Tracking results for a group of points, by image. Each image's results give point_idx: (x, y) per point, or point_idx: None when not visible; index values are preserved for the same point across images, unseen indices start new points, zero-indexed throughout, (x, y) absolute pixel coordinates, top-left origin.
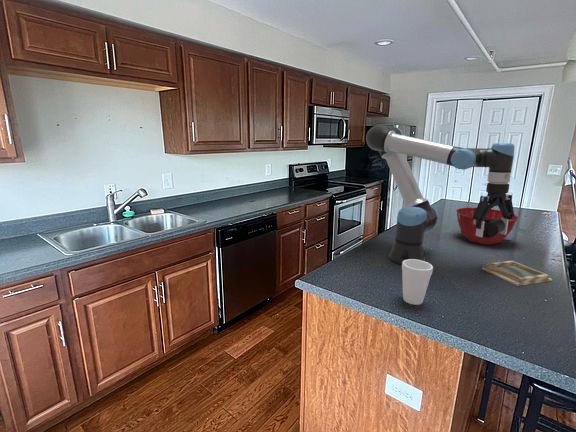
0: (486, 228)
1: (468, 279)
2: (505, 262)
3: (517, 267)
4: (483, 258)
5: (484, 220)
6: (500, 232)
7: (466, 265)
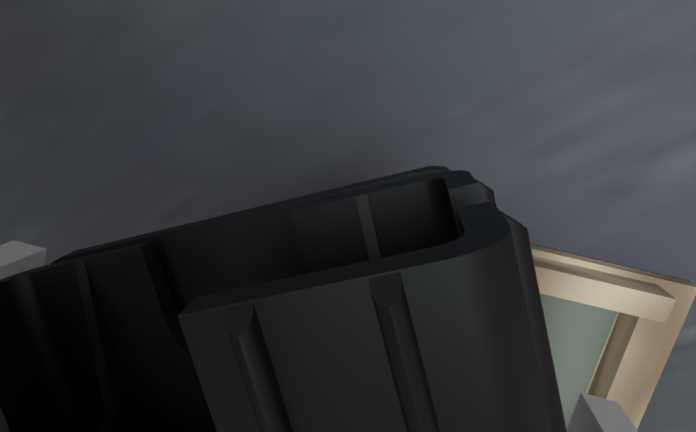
0: (449, 220)
1: (63, 255)
2: (553, 291)
3: (600, 348)
4: (627, 46)
5: (199, 323)
6: (577, 425)
7: (287, 84)
